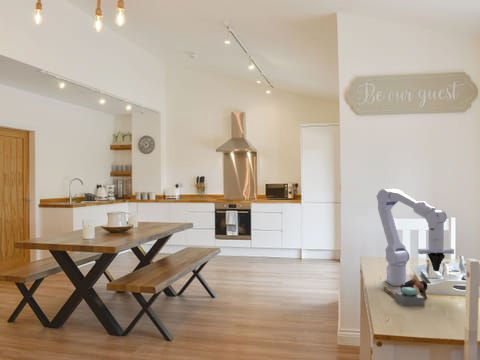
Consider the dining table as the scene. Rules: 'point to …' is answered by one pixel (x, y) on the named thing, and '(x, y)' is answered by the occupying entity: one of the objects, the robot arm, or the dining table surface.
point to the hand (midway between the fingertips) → (435, 270)
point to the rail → (389, 291)
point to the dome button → (409, 291)
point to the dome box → (409, 299)
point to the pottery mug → (419, 284)
